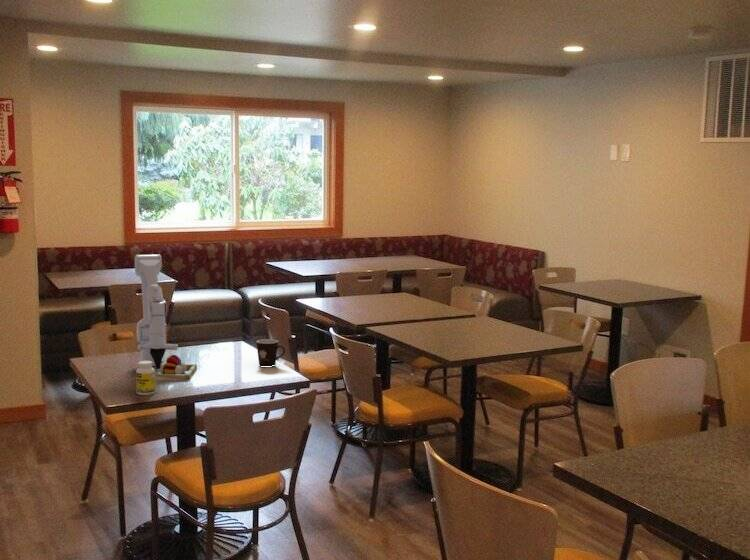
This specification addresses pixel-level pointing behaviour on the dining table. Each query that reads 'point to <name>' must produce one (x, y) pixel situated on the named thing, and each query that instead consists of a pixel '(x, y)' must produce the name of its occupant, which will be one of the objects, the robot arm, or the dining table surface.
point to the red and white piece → (173, 366)
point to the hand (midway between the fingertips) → (158, 368)
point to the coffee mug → (268, 352)
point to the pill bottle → (145, 378)
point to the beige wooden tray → (187, 376)
